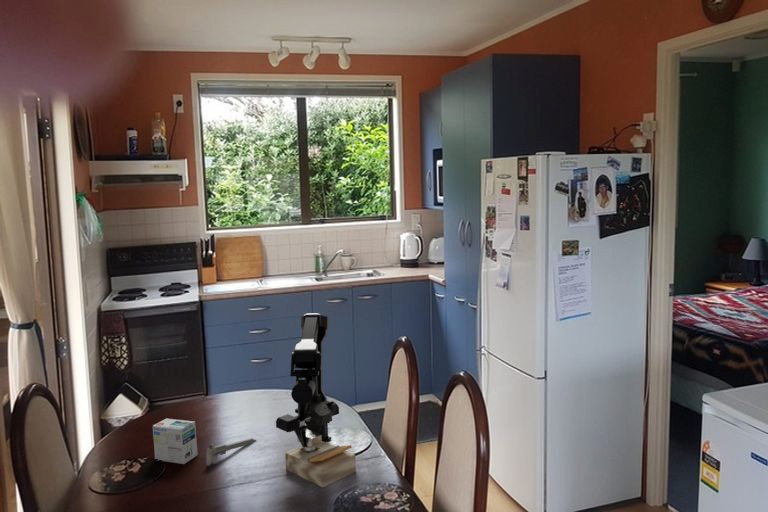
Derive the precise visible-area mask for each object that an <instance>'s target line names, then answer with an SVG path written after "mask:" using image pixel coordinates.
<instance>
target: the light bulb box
mask: <svg viewBox="0 0 768 512" xmlns="http://www.w3.org/2000/svg"><path fill="white" fill-rule="evenodd" d="M152 437H153V447H154V449H153V450H154V460H155V459H158V460H157V461H159V460H162V461H161V462H168V463H174V464H180V465H181V464H182V465H186V463H189V462H190V461H191V460H193V459H194V458H195V457H197V456H198V455H199V454H198V443H197V442H198V441H197V429H196V421H195V420H193V421H192V420H183V419H174V418H165V419H163V420H160V421H158V422H157V423H155V424H153V425H152Z"/></svg>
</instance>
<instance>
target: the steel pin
mask: <svg viewBox="0 0 768 512" xmlns="http://www.w3.org/2000/svg"><path fill="white" fill-rule="evenodd" d="M296 437H297V436H296ZM297 442H299V443H300V441H299V439H298V437H297ZM319 444H322V436H321V435H320V434H318V433H315V432H313V431H310V430H308V429H307V430H306V447H305V452H306V453H311V452H314V451H315V446H317V445H319Z"/></svg>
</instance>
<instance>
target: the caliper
mask: <svg viewBox="0 0 768 512" xmlns="http://www.w3.org/2000/svg"><path fill="white" fill-rule="evenodd" d="M256 441H257V439H255V438H252V437H251V438H247V439H243V440H240V441H239V440H238V441H237V442H236V441H234V442H231V443H229V444H225V443H222V444H220V445H216V444H215V443H211V444H210V443H209V444H208V448H206V454H205V456H206V458H205V459H206V466H209V467H211V465H216V462H217V459H218V456H219V455H226V453H227V451H230V450H234V449H238V448H241V447H246V446H249V445H252V444H253V443H254V442H256Z"/></svg>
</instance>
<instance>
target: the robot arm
mask: <svg viewBox="0 0 768 512" xmlns="http://www.w3.org/2000/svg"><path fill="white" fill-rule="evenodd" d="M300 329H301V331H302V333H301V339H300V342H298V343H296V345H295V346H294V350H293V351H292V353H291V356H290V357H291V360H290V362H291V363H290V375H289V376H290V377H295V382H294V385H293V387H292V389H291V392H290V393H291V399H292V400H293V401H294V402H295V403H296V404H297V408H295V409H294V412H295V414H297V415H295V416H293V415H291V414H288V413H287V414H285V415H281V416H279V417H277V418H276V420H275V427H276V429H279V430H282V431H284V432H285V433H291V432H294V434H295V435H296V437H298V439H299V441H300V442H299V443H300V444H301V446H302V447H304V448H305V447H306V430H307V429H308V430H310V431H313V432H315V433H318V434H320V435H321V436H322V441H324V442H326V443H327V442H329V441H330V440H332V437H331V436H329V424H330V423H331V422H332V421H333V417H334V416H336V415H337V416H338V415H339V414H340V406H339V405H338V404H337V403H336V402H335V401H334V400H331V401H329V400H328V398H327V396H326V394H325V392H324V390H323V343H324V342H325V340H326V338H327V336H328V330H330V319H329V316H327V315H325V314H321V313H318V312H315V313H311V312H310V313H308V312H307V313H305V314H303V316H301V317H300Z"/></svg>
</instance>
